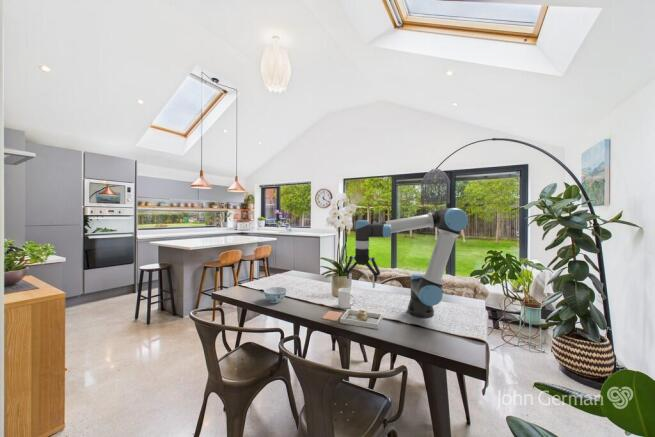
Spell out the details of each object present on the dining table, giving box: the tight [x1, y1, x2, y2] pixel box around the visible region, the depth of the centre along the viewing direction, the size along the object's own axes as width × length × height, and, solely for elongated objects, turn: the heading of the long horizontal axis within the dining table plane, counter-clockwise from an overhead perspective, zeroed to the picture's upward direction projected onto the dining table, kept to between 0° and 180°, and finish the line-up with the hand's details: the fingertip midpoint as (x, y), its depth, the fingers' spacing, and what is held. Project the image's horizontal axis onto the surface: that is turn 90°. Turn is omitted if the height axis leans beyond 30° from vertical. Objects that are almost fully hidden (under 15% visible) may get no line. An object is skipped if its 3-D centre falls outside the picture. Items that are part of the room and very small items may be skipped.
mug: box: [337, 287, 356, 309], centre depth 173 cm, size 9×12×11 cm
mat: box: [321, 310, 344, 322], centre depth 159 cm, size 9×12×1 cm
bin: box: [339, 308, 384, 330], centre depth 153 cm, size 21×15×2 cm
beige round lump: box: [355, 309, 368, 322], centre depth 152 cm, size 5×5×5 cm
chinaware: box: [263, 286, 288, 304], centre depth 183 cm, size 15×15×8 cm
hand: (361, 286), depth 152 cm, fingers open, 13 cm apart
